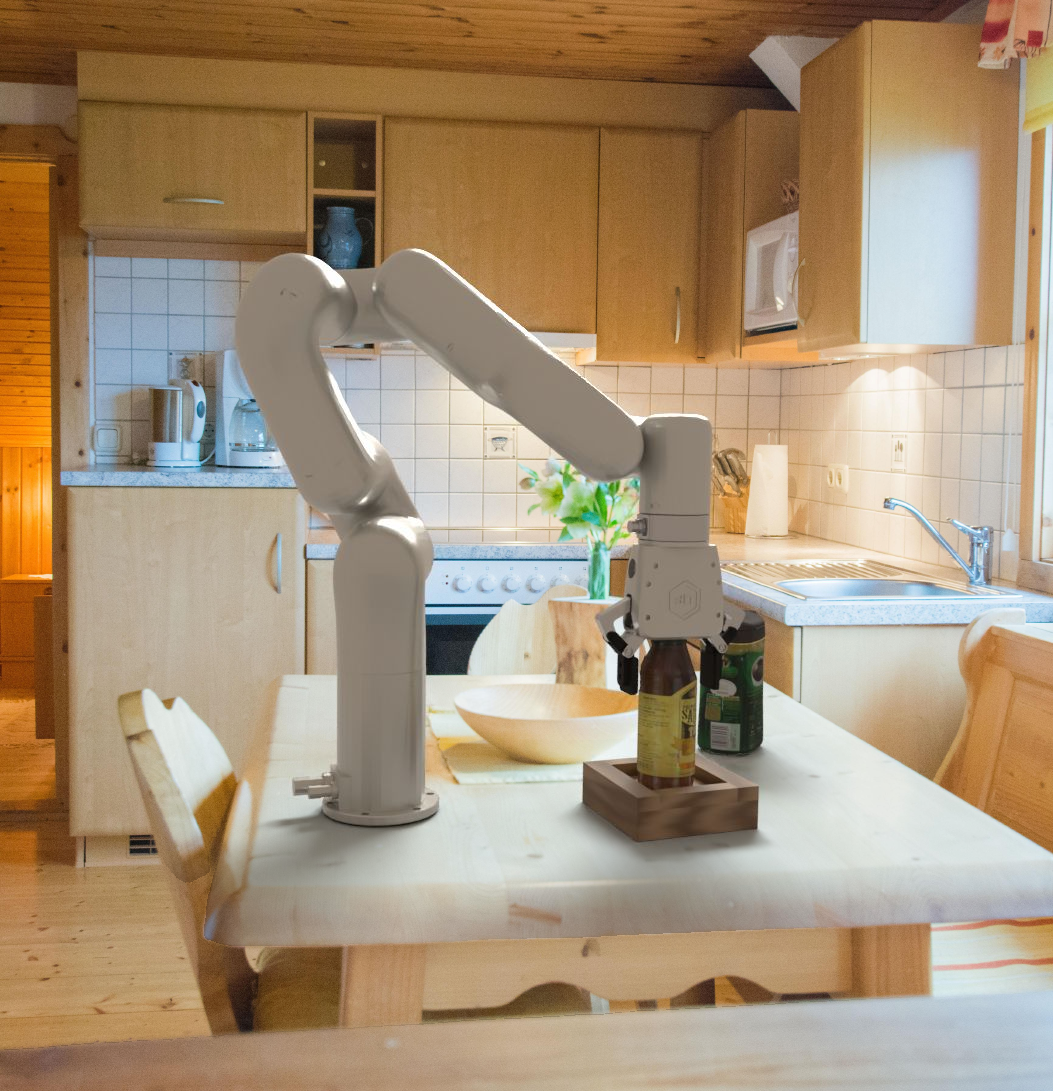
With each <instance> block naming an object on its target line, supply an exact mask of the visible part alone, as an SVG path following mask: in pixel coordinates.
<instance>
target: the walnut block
mask: <svg viewBox="0 0 1053 1091" xmlns="http://www.w3.org/2000/svg"><path fill="white" fill-rule="evenodd" d="M759 793H760V785H758V784H757V783H754V782H752V781H750V779H746V778H745V777H742V776H741V775H739V774H737V773H735V772H733V771H731V770H729V769H727V768H725V767H723V766H722V765H720V764H718V763H716V762H714V761H712V760H710V759H708V758H706V757H704V756H702V755H700V754H699V753H696V752H695V773H694V782H693V786H689V787H678V788H668V789H658V790H650V789H648V788H647V787H645V786H644V785H642V784H640V783H639V782H638V770H637V756H636V757H625V758H614V759H612V758H611V759H601V760H590V761H583V762H582V798H581V800H582V803H584V804H585V805H587V806H588V807H589V808H591V809H592V810H593V811H595V812H596V813H597V814H598V815H600V816H601V817H602V818H604V819H605V820H606V821H608V822H609V823H611V824H612V825H613V826H614V827H616V828H617V829H619V830H620V831H621V832H622V833H624V834H625V835H627V837H629V838H631V839H632V840H634V841H635V842H636V843H637V842H646V841H654V840H665V839H673V838H682V837H690V836H699V835H707V834H716V833H717V834H718V833H724V832H726V833H727V832H733V831H734V832H735V831H744V830H750V829H752V830H754V829H758V827H759V825H758V824H759V796H760V794H759Z"/></svg>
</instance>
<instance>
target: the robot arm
mask: <svg viewBox="0 0 1053 1091" xmlns="http://www.w3.org/2000/svg"><path fill="white" fill-rule="evenodd" d="M234 320H235V321H234V342H235V349H236V354H237V358H238V362H239V365H240V368H241V371H242V373H243V376H244V379H245V381H246V383H247V385H248V387H249V389H250V392H251V394H252V396H253V397H254V400H255V402H256V404H257V406H258V408H259V410H260V412H261V414H262V416H263V418H264V421H265V422H266V425H267V428H268V429H269V432H270V434H271V436H272V438H273V440H274V442H275V444H276V446H277V448H278V451H279V452H280V454H281V456H282V459H283V460H284V462H285V464H286V466H287V468H288V470H289V473H290V475H291V477H292V479H293V481H294V484H295V486H296V489H297V491H298V492H299V494H300V496H301V497H302V499H303V500H304V501H305V502H306V503H307V505H309V506H310V507H311V508H312V509H314V510H316V511H317V512H318V513H319V512H320V513H323V514H326V515H327V517H328V519H329V521H330V523H331V525H332V526H333V528H334V531H335V532H336V534H337V537H338V538H339V540H340V543H339V545H338V547H337V549H336V552H335V555H334V559H333V566H332V588H333V590H332V591H333V598H334V601H333V602H334V610H335V626H336V627H335V630H336V632H335V633H336V634H335V635H336V763H334V764H329V766H330V769H329V771H328V772H327V771H326V772H322V773H321V775H320V776H313V777H311V776H300V777H292V782H291V784H292V785H291V789H292V795H293V797H297V796H307V797H308V800H314V799H322V800H321V805H322V812H323V814H324V815H326V816H327V817H329V818H330V819H332V820H334V821H336V822H341V823H345V824H349V825H356V826H373V827H374V826H375V827H378V826H379V827H380V826H381V827H384V826H395V825H396V826H397V825H402V824H410V823H414V822H417V821H421V820H423V819H427V818H428V817H431V816H433V815H434V814H435V813H437V812H438V810H439V808H440V797H439V794H438V793H437V792H436V791H435V790H432V789H431V788H428V787H426V725H427V724H426V723H427V721H426V718H427V717H426V716H427V714H426V713H427V712H426V711H427V706H426V705H427V698H426V696H427V665H426V664H427V631H426V630H427V628H426V627H427V626H426V625H427V624H426V623H427V622H426V582H427V579H428V577H429V576H430V574H431V571H432V569H433V565H434V560H435V559H434V558H435V552H434V546H433V545H434V544H433V541H432V538H431V535H430V533H429V531H428V529H427V526H426V525H425V523H424V520H422V517H421V515H420V513H419V512H418V509H417V507H416V505H415V503H414V502H413V499H412V497H411V496H410V494H409V491H408V489H407V487H406V485H405V483H404V481H403V479H402V477H401V474H399V471H398V469H397V467H396V466H395V464H394V462H393V459H392V457H391V456H390V455H389V453H388V452H387V450H386V449H385V447H384V445H383V444H382V443H381V442H380V441H379V440H378V439H377V438H375V436H373V435H372V434H369V433H368V432H366V431H364V430H362V429H361V428H360V426H359V425H358V422H357V421H356V419H355V417H354V415H353V413H352V412H351V409H350V408H349V406H348V405H347V402H346V400H345V398H344V396H343V394H342V391H341V389H340V386H339V385H338V383H337V380H336V379H335V376H334V375H333V373H332V371H331V370H330V368H329V366H328V365H327V363H326V360H325V358H324V356H323V354H322V351H321V348H320V347H336V346H337V347H338V346H350V345H367V344H381V343H382V344H383V343H386V344H387V343H397V342H407V341H410V342H412V343H413V344H414V345H415V346H416V347H417V348H419V349H420V350H422V351H423V352H424V353H425V354H426V355H428V356H429V357H430V358H431V359H432V360H434V361H435V362H437V363H438V365H440V366H441V367H442V368H444V369H445V370H446V371H447V372H449V374H451V375H452V376H453V377H455V378H456V379H458V380H459V382H461V383H462V384H463V385H464V386H466V387H467V388H468V389H469V390H471V391H472V392H473V393H474V394H475V395H476V396H478V397H479V398H481V399H482V400H483V401H485V403H487V404H489V405H492V406H493V407H495V408H497V409H499V410H500V411H503V412H504V413H505V414H507V415H509V416H510V417H512V419H514V420H515V421H516V422H518V423H519V424H520V425H522V426H523V427H524V428H526V429H527V430H528V431H529V432H531V433H532V434H533V435H534V436H535V437H537V438H538V439H539V440H541V441H542V442H543V443H545V444H546V445H547V446H548V447H549V448H550V449H551V450H553V451H554V452H556V453H557V454H558V455H559V456H560V457H561V458H563V459H564V460H565V461H566V462H567V463H569V464H570V465H571V466H572V467H573V468H574V469H575V470H576V471H577V472H578V473H579V474H580V475H581V476H583V477H584V478H586V479H588V480H591V481H592V482H596V483H601V484H612V483H617V482H620V481H622V480H627V479H638V480H639V488H638V489H639V494H638V496H639V497H638V500H639V502H638V513H637V514H636V519H634V520H632V519H631V520H628V521H627V524H626V531H627V532H628V533H629V534H635V535H636V538H637V542H634V543H632V546H631V550H630V553H629V558H628V562H627V569H626V575H625V581H624V590H623V598H622V599H620V600H619V601H617V602H615V603H613V604H611V605H609V606H608V607H607V608H605V609H603V610H601V611H600V612H598V613H597V614H595V616H594V621H595V623H596V625H597V627H598V629H599V632H600V633H601V636H602V639H603V640H604V641H605V642H606V644H607V645H609V647H610V648H611V649H612V651H613V652H614V653H615V654H617V657H616V658H617V660H616V661H617V662H616V664H617V667H616V682H617V684H618V686H619V689H620V692H623V693H625V694H628V695H630V696H636V695H638V694H639V673H640V671H639V670H640V669H639V668H640V667H639V666H640V665H639V664H640V663H639V662H640V661H639V660H640V659H639V658H638V657H637V656H635V653H637V651H638V650H639V648H640V647H641V646H642V644H644V642H645V641H646V640H649V641H651V640H678V639H686V640H694V639H695V640H697V639H698V640H699V639H701V641H702V642H703V643H704V645H705V649H702V651H701V654H700V655H699V656H700V657H699V658H700V661H699V664H700V665H699V685H700V684H701V685H702V686H704V687H707V688H709V689H712V690H719V681H720V680H721V677H722V653H725V652H726V651H727V646H728V645H729V644H730V643H731V641H732V640H733V639H734V638H735V637H736V636H737V630H738V628H739V627H740V625H741V623H742V621H743V619H744V617H745V612H744V611H743V610H742V609H743V608H740V607H738V606H736V605H734V604H733V603H731V602H729V601H727V600H725V599H724V592H723V591H724V590H723V577H722V569H721V562H720V557H719V555H720V554H719V551H718V547H717V544H714V543H710V530H711V529H710V528H711V527H710V526H711V525H710V524H711V516H710V515H711V498H712V497H711V496H712V466H713V465H712V463H713V461H712V458H713V427H712V422H710V420H709V419H708V418H707V417H706V416H703V415H700V414H693V413H692V414H691V413H690V414H689V413H657V414H652V415H649V416H647V417H641V416H633V415H630V414H628V412H626V411H625V410H623V408H621V407H620V406H619V405H618V404H617V403H615V402H614V401H613V400H611V399H610V398H609V397H607V396H606V395H605V394H604V393H603V392H602V391H600V390H599V389H598V388H596V387H595V386H594V385H593V384H592V383H590V382H589V381H588V380H587V379H586V378H584V377H583V376H582V375H580V374H579V373H578V372H577V371H576V370H574V369H573V368H572V367H571V366H570V365H568V364H567V363H565V362H564V361H563V360H562V359H560V358H559V357H558V356H557V355H555V354H554V353H553V352H552V351H551V350H550V349H548V348H547V347H546V346H545V345H544V344H543V343H542V342H541V340H538V338H536V337H535V336H534V335H533V334H532V333H530V332H529V331H528V330H527V329H525V328H524V327H523V326H522V325H521V324H519V323H518V322H517V321H515V320H514V319H513V318H512V317H510V316H509V315H508V314H506V313H505V312H504V311H503V309H501V308H499V307H498V306H497V305H496V304H495V303H493V302H492V301H491V300H490V299H488V298H487V297H485V295H483V294H482V292H480V291H478V290H477V289H476V288H475V287H474V286H473V285H471V284H470V283H469V282H467V281H466V280H465V279H464V278H463V277H461V276H460V275H459V274H458V273H457V272H455V271H454V270H453V269H452V268H450V267H449V266H448V265H447V264H446V263H445V262H443V261H442V260H441V259H439V258H438V257H436V256H435V255H433V254H431V253H429V252H428V251H425V250H422V249H418V248H404V249H400V250H397V251H396V252H394V253H392V254H390V256H388V257H387V258H386V259H385V260H384V261H382V263H381V265H380V266H379V267H369V268H351V269H333V268H332V267H330V266H329V265H328V264H327V263H325V262H324V261H323V260H321V259H319V258H317V257H316V256H312V255H308V254H305V253H298V252H289V253H284V254H279V255H277V256H275V257H273V258H272V259H270V260H268V261H266V263H264V264H263V265H262V266H261V267H260V268H259V269H258V270H257V271H256V272H255V273H254V274H253V275H252V277H251V279H250V280H249V281H248V283H247V284H246V287H245V288H244V291H243V293H242V294H241V297H240V299H239V303H238V305H237V310H236V314H235V319H234ZM723 614H725V615H726V621H725V625H724V626H723ZM620 618H622V624H623V630H624V631H623V632H622V634H621V635H620V634H619V633H618V632H617V631H616V627H615V625H614V624H615V623H614V622H616V620H618V619H620Z"/></svg>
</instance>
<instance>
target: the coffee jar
mask: <svg viewBox="0 0 1053 1091" xmlns="http://www.w3.org/2000/svg"><path fill="white" fill-rule="evenodd" d="M741 609H742V610H743V611H744V612H745V617H744V619H743V621H742V623H741V625H740V627H739V628H738V630H737V636H736V637H735V638H734V639H733V640H732V641H731V643H730V644H729V645H728V646H727V651H726V652H725V653H722V677H721V680H720V681H719V690H712V689H709V688H707V687H704V686H702V685H701V684H700V683H699V702H698V704H699V706H698V715H697V716H698V720H697V736H696V737H697V738H696V739H697V740H696V741H697V742H696V744H697V746H698V747H699V748H700V749H702V750H703V751H704V750H705V751H707V752H709V753H711V754H714V755H720V756H728V755H747V754H750V753H752V752H754V751H756V750H757V749H758V748H760V746H761V745H762V744H763V741H764V659H765V658H764V657H765V645H766V623H765V622H766V621H765V618H764V617H763V616H761V615H760V614H759V613H758V612H757V611H756V610H753V609H752V610H750V609H743V608H741ZM725 621H726V615H725V614H723V626H724V625H725ZM698 640H699V650H700V652H699V653H700V654H701V651H702V649H705V645H704V643H703V642H702V641H701V639H698Z"/></svg>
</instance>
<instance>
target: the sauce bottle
mask: <svg viewBox="0 0 1053 1091" xmlns="http://www.w3.org/2000/svg"><path fill="white" fill-rule="evenodd" d="M687 640H688V639H678V640H650V643H651V647H650V648H649V650H648V651H647V653H646V654H645V655H644V657H643V659H642V661H641V663H640V667H639V668H640V669H639V670H640V671H639V688H638V694H637V695H638V701H637V702H638V704H637V742H636V743H637V744H636V745H637V747H636V749H637V750H636V752H637V754H636V757H637V770H638V782H639V783H640V784H642V785H644V786H645V787H647V788H648V789H650V790H658V789H668V788H678V787H689V786H693V782H694V773H695V753H696V744H697V742H696V741H697V740H696V739H697V738H696V737H697V735H696V734H697V707H698V706H697V702H698V700H697V699H698V698H697V697H698V696H697V695H698V677H697V674H696V671H695V666H694V665H693V661H692V659H691V654H690V653H689V652H690V651H689V649H688V645H687V643H688V641H687Z"/></svg>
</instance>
